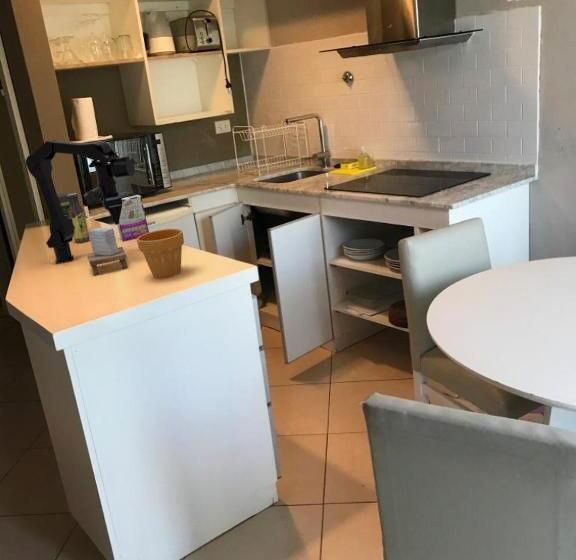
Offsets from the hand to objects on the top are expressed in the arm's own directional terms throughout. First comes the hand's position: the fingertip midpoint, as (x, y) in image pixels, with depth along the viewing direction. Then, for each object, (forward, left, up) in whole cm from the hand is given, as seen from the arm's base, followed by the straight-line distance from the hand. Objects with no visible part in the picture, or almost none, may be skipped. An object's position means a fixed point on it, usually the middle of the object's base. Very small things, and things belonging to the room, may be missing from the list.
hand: (115, 222), depth 223 cm
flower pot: (+34, +10, -13) cm, 38 cm away
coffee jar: (-60, -16, -13) cm, 63 cm away
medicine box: (+11, -6, -8) cm, 15 cm away
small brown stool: (+11, -6, -13) cm, 18 cm away
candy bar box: (-29, +8, -13) cm, 33 cm away
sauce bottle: (-42, -12, -13) cm, 46 cm away
